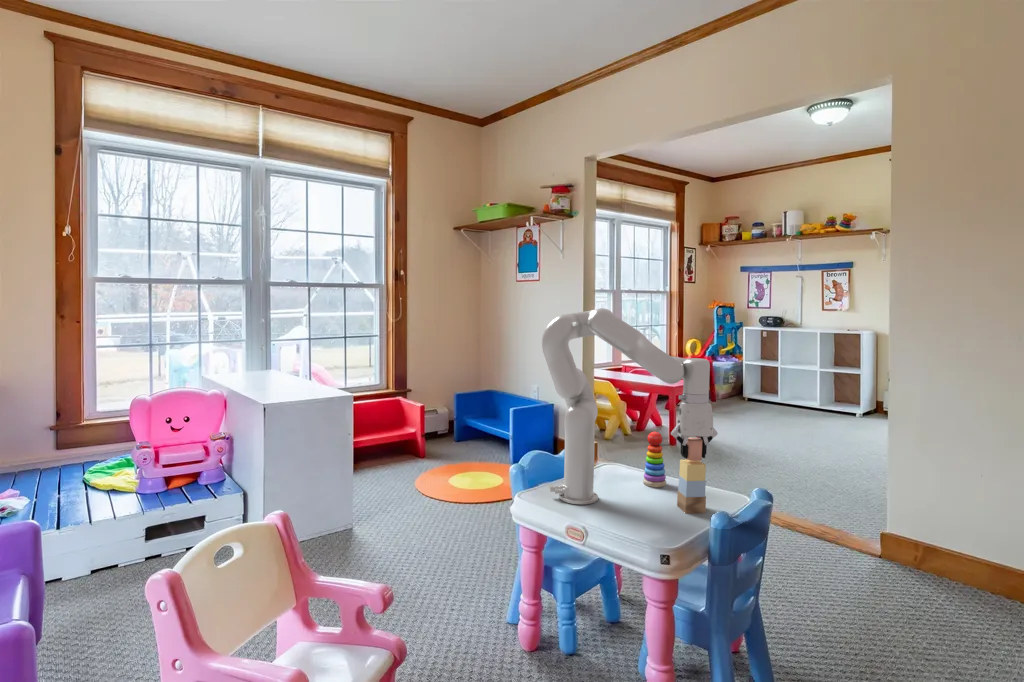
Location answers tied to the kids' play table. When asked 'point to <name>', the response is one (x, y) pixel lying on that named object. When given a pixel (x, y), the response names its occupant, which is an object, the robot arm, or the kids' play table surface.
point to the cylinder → (694, 449)
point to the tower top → (692, 470)
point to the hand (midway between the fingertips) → (693, 456)
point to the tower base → (691, 503)
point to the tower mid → (692, 488)
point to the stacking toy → (654, 462)
